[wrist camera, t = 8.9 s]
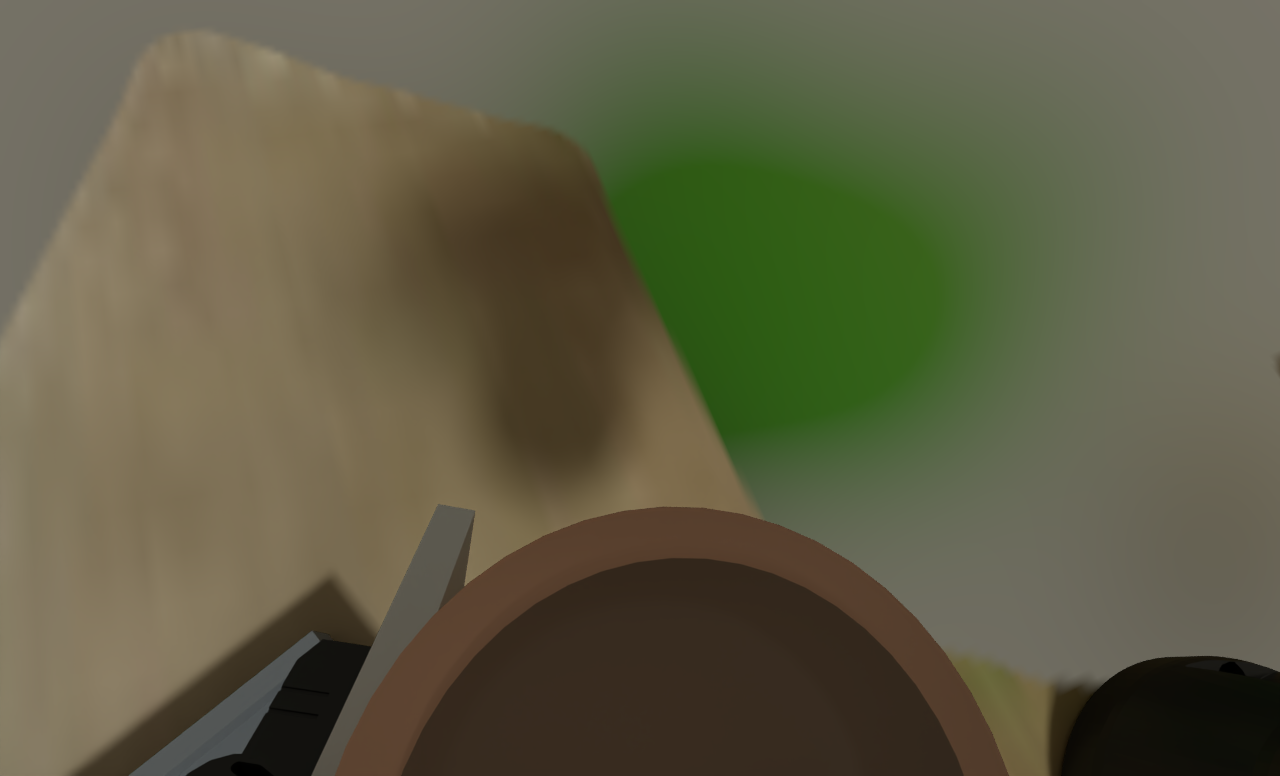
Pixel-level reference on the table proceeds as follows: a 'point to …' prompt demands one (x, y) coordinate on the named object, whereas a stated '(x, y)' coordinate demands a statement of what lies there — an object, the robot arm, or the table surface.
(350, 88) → the table surface
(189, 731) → the grey square tray
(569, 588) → the terracotta cup
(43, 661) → the table surface
